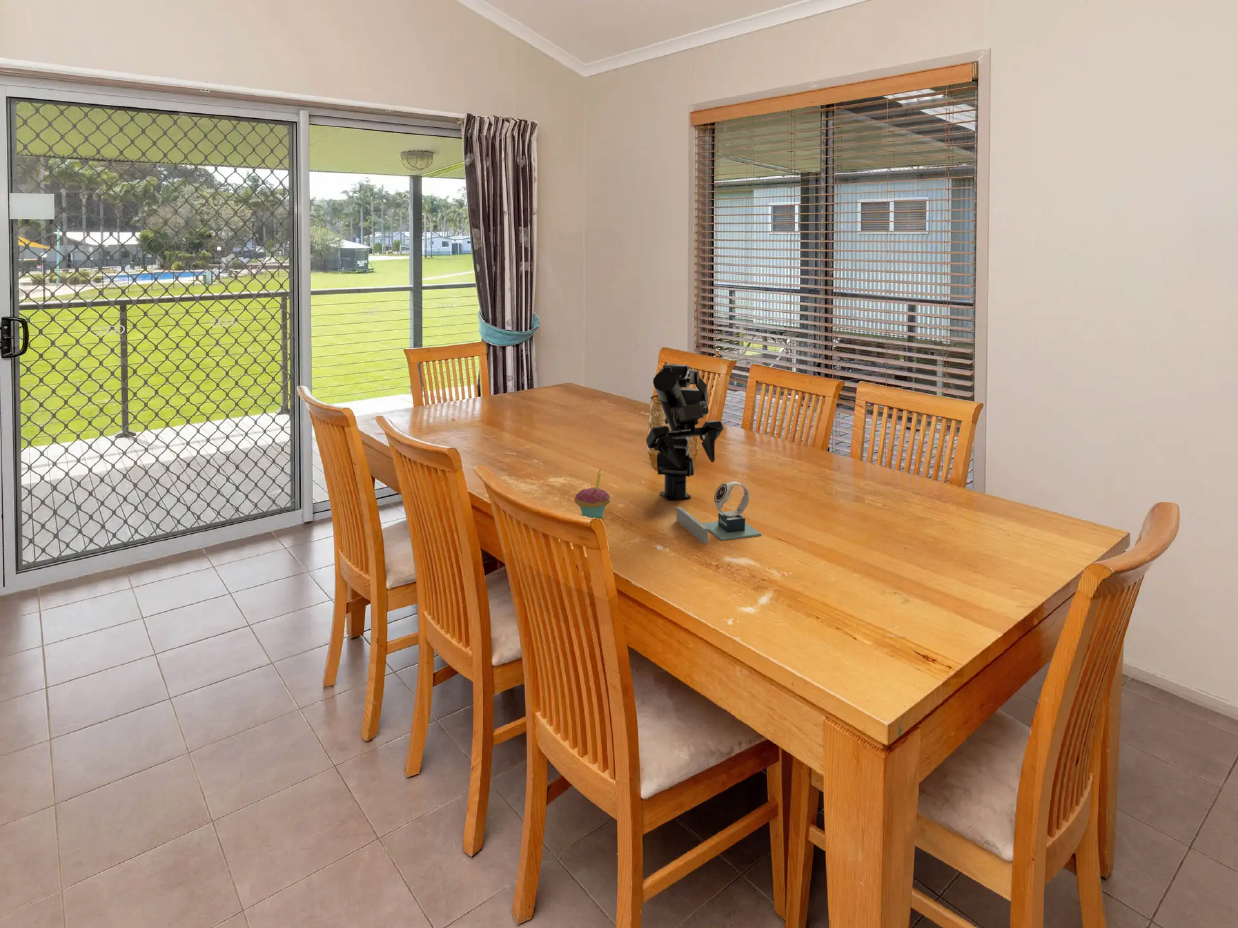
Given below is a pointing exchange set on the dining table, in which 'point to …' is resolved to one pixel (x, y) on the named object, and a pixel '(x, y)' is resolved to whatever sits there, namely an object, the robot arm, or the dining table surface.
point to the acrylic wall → (692, 525)
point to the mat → (723, 535)
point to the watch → (730, 519)
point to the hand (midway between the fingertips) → (696, 463)
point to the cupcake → (592, 500)
